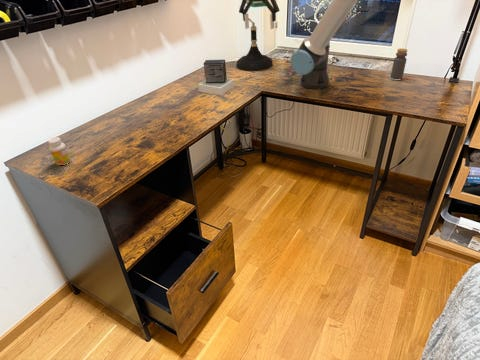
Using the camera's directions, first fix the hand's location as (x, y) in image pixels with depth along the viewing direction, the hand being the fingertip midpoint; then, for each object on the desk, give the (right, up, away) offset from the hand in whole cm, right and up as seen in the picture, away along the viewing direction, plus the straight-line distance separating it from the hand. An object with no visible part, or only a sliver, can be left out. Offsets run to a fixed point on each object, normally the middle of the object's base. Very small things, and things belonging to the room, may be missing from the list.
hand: (259, 28), depth 163 cm
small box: (-22, -22, +13) cm, 34 cm away
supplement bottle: (-76, -68, -38) cm, 109 cm away
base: (-22, -26, +15) cm, 37 cm away
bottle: (+74, -21, +14) cm, 78 cm away
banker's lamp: (-1, -3, +45) cm, 46 cm away
